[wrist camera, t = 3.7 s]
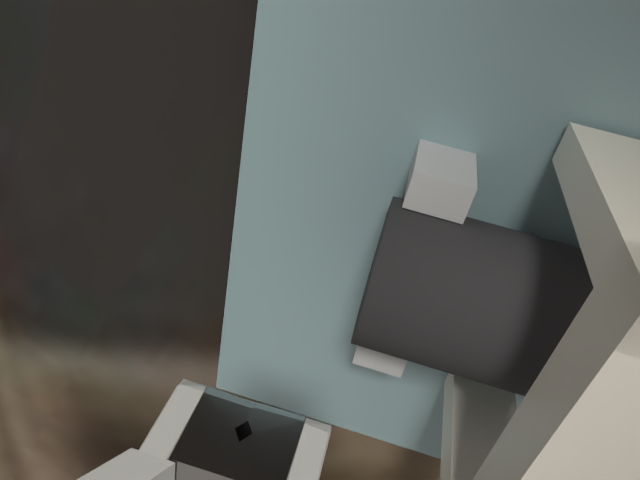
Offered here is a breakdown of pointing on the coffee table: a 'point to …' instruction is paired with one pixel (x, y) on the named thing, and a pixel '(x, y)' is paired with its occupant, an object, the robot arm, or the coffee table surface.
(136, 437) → the coffee table surface
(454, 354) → the dark grey rounded bar
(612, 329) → the u-shaped staple bracket
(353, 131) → the clip board
